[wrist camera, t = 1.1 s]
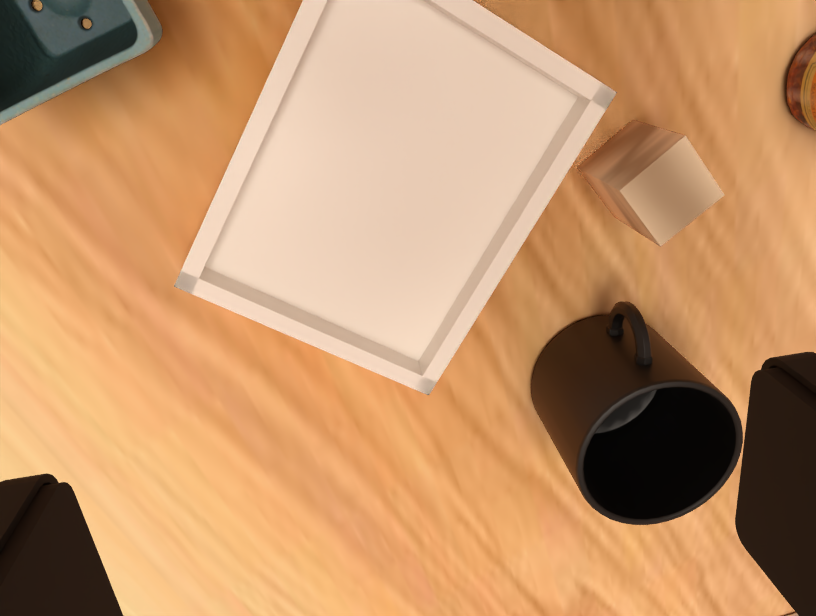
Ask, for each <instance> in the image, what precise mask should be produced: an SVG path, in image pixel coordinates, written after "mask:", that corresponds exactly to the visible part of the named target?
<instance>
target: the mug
mask: <svg viewBox="0 0 816 616" xmlns="http://www.w3.org/2000/svg"><path fill="white" fill-rule="evenodd" d="M531 394H532V400H533V404H534V407H535V410H536V412H537V413H538V415H539V417H540V419H541V421H542V422H543V424H544V426H545V428H546V430H547V432H548V433H549V435H550V437H551V439H552V441H553V442H554V444H555V446H556V448H557V450H558V452H559V453H560V455H561V457H562V459H563V461H564V462H565V464H566V466H567V468H568V470H569V471H570V473H571V475H572V477H573V479H574V481H575V482H576V484H577V486H578V488H579V490H580V491H581V493H582V495H583V497H584V498H585V500H586V501H587V502H588V503H589V504H590V505H591V507H592V508H594V509H595V510H596V511H598V512H599V513H600V514H602V515H604V516H606V517H608V518H609V519H611V520H615V521H618V522H621V523H626V524H632V525H648V524H657V523H661V522H665V521H669V520H672V519H675V518H678V517H681V516H683V515H685V514H687V513H689V512H691V511H693V510H694V509H696V508H698V507H699V506H701V505H702V504H704V503H705V502H706V501H707V500H709V499H710V498H711V497H712V496H713V495H714V494H716V493H717V491H718V490H719V489H720V488H721V487H722V486H723V485H724V484H725V482H726V481H727V480H728V478H729V477H730V475H731V474H732V472H733V470H734V468H735V466H736V464H737V462H738V459H739V456H740V453H741V448H742V443H743V432H742V425H741V420H740V418H739V415H738V413H737V411H736V409H735V407H734V406H733V404H732V403H731V401H730V400H729V399H728V398H727V397H726V396H725V395H724V394H723V393H722V392H721V391H720V390H719V389H718V388H716V387H715V386H714V385H713V384H712V383H711V382H710V381H709V380H708V379H707V378H706V377H704V376H703V375H702V374H701V373H700V372H699V371H698V370H697V369H696V368H695V367H694V366H693V365H691V364H690V363H689V362H688V361H687V360H686V359H685V358H684V357H683V356H682V355H681V354H680V353H678V352H677V351H676V350H675V349H674V348H673V347H672V346H671V345H670V344H669V343H668V342H666V341H665V340H664V339H663V338H662V337H661V336H660V335H659V334H658V333H657V332H656V331H655V330H653V329H652V328H651V327H650V326H648V325H647V324H645V322H644V320H643V317H642V315H641V313H640V312H639V310H638V309H637V308H636V307H635V306H634V305H633V304H632V303H630V302H618V303H616V304H615V306H614V307H613V309H612V311H611V313H610V315H600V316H595V317H591V318H587V319H584V320H582V321H579V322H577V323H575V324H573V325H571V326H569V327H568V328H566V329H565V330H563V331H562V332H561V333H559V334H558V335H557V336H556V337H555V338H554V339H553V340H552V341H551V342H550V343H549V344H548V345H547V347H546V348H545V349H544V350H543V352H542V354H541V356H540V357H539V359H538V361H537V364H536V366H535V369H534V373H533V378H532V384H531Z"/></svg>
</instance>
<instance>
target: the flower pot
mask: <svg viewBox="0 0 816 616" xmlns="http://www.w3.org/2000/svg"><path fill="white" fill-rule="evenodd" d="M32 1H33V0H0V125H1V124H3V123H5V122H7V121H9V120H11V119H13V118H15V117H17V116H19V115H21V114H22V113H24V112H26V111H28V110H30V109H32V108H34V107H36V106H38V105H40V104H42V103H44V102H46V101H48V100H50V99H52V98H54V97H56V96H58V95H60V94H62V93H64V92H66V91H68V90H70V89H72V88H74V87H76V86H78V85H80V84H82V83H84V82H86V81H88V80H90V79H91V78H93V77H95V76H97V75H99V74H101V73H103V72H106V71H108V70H110V69H112V68H114V67H116V66H118V65H120V64H122V63H124V62H126V61H129V60H131V59H133V58H135V57H137V56H139V55H141V54H143V53H145V52H147V51H148V50H150V49H151V48H152V47H153V46H155V45H156V44H157V43H158V42H159V40H160V39H161V37H162V26H161V24H160V22H159V20H158V18H157V16H156V15H155V13H154V11H153V9H152V7H151V6H150V4H149V2H148V0H40V1H41V2H42V5H43V7H42V10H41V11H36V10H34V9H33V8H32V5H31V3H32ZM83 18H88V19H89V20H90V21H91V23H92V26H91V27H90V29H84V28H83V27H82V25H81V20H82V19H83Z"/></svg>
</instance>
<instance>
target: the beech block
mask: <svg viewBox="0 0 816 616" xmlns="http://www.w3.org/2000/svg"><path fill="white" fill-rule="evenodd" d="M577 168H578V169H579V171H580V172H581V173H582V174H583V176H584V177H585V178H586V180H587V181H588V182H589V184H590V185H591V186H592V188H593V189H594V190H595V192H596V193H597V194H598V196H599V197H600V198H601V200H602V201H603V202H604V204H605V205H606V206H607V208H608V209H609V210H610V212H611V213H612V214H613V216H614V217H616V218H617V219H619V220H620V221H622V222H623V223H625V224H626V225H628V226H630V227H631V228H633V229H634V230H636V231H637V232H639V233H640V234H642V235H643V236H645V237H647V238H648V239H650V240H651V241H653V242H654V243H656V244H657V245H659V246H660V247H661V246H662V245H663V244H665V243H666V242H667V241H668V240H670V239H671V238H672V237H673V236H675V235H676V234H677V233H678V232H680V231H681V230H682V229H683V228H685V227H686V226H687V225H688V224H690V223H691V222H692V221H693V220H694V219H696V218H697V217H698V216H699V215H701V214H702V213H703V212H704V211H706V210H707V209H708V208H709V207H711V206H712V205H713V204H714V203H716V202H717V201H718V200H719V199H721V198H722V197H723V196H724V193H723V192H722V190H721V189H720V187H719V186H718V184H717V183H716V181H715V179H714V178H713V176H712V175H711V173H710V172H709V170H708V169H707V167H706V166H705V164H704V163H703V161H702V160H701V158H700V157H699V155H698V154H697V152H696V151H695V149H694V148H693V146H692V144H691V143H690V141H689V140H688V138H687V137H686V135H682V134H679V133H676V132H672V131H669V130H665V129H662V128H659V127H655V126H652V125H649V124H645V123H642V122H639V121H635V120H632V121H631V122H630V123H629V124H627V125H626V126H625V127H624V128H623V129H621V130H620V131H619V132H618V133H617V134H616V135H614V136H613V137H612V138H611V139H610V140H609V141H607V142H606V143H605V144H604V145H603V146H602V147H600V148H599V149H598V150H597V151H596V152H594V153H593V154H592V155H591V156H590V157H589V158H587V159H586V160H585V161H584V162H583V163H582V164H580V165H579V166H578V167H577Z"/></svg>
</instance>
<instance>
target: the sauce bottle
mask: <svg viewBox="0 0 816 616" xmlns="http://www.w3.org/2000/svg"><path fill="white" fill-rule="evenodd" d="M786 89H787V99H788V101H787V104H788V106H789V107H790V111H791V113H792V115H793V116H795V118H796V119H797V120H799V121H800V122H802V123H803V124H805V126H807V127H810V128H812V129H814V130H815V131H816V34H815V35H814V36H812V37H811V38H810V39H809V40H808V41H807V42H806V43H805V44H804V45H803V46H802V48H801V49H800V50H799V51H798V53H797V54H796V56H795V58H794V61H793V62H792V64H791V67H790V70H789V73H788V79H787V88H786Z"/></svg>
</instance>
